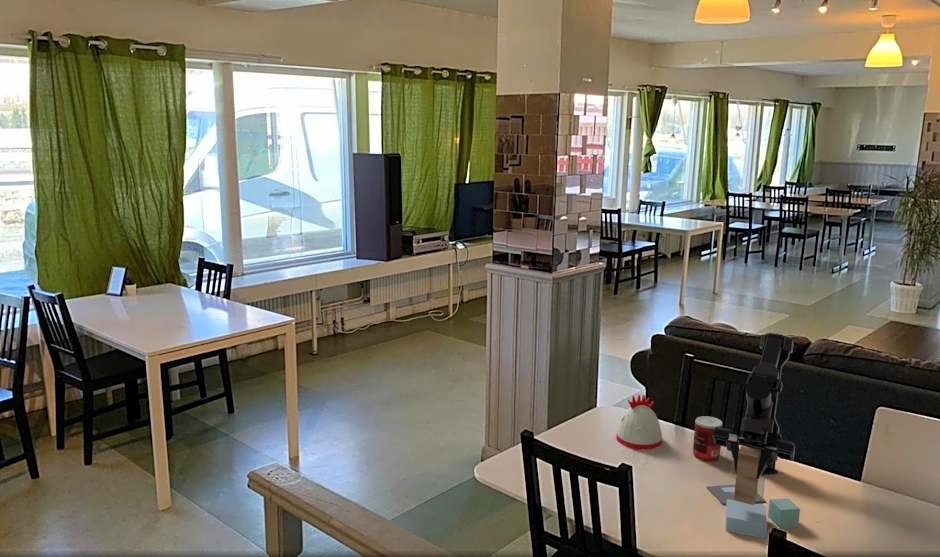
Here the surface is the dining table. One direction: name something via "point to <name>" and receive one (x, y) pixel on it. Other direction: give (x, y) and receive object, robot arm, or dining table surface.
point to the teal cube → (784, 513)
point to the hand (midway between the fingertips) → (746, 476)
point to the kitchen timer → (639, 426)
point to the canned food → (706, 438)
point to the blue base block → (746, 518)
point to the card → (728, 493)
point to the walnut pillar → (747, 475)
